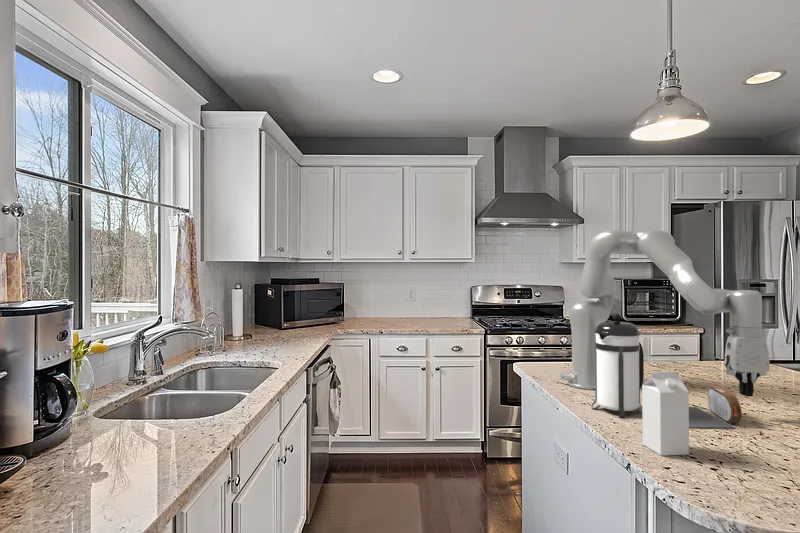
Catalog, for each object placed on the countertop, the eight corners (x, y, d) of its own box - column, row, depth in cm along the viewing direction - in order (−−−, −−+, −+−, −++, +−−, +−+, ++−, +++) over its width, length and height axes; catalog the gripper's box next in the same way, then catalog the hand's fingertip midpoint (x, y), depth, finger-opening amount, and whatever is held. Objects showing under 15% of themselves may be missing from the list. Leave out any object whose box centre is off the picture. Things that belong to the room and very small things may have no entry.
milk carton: (642, 444, 115) (641, 369, 115) (669, 443, 116) (668, 368, 116) (660, 456, 108) (660, 375, 108) (689, 455, 108) (688, 375, 108)
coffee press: (652, 421, 132) (652, 317, 132) (592, 415, 137) (591, 315, 137) (643, 404, 148) (642, 311, 148) (589, 399, 153) (589, 310, 153)
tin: (743, 427, 127) (742, 397, 127) (730, 426, 127) (730, 396, 127) (717, 410, 141) (716, 383, 141) (705, 410, 142) (705, 382, 142)
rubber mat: (688, 428, 126) (688, 426, 126) (655, 408, 144) (655, 406, 144) (735, 428, 125) (735, 427, 125) (696, 408, 143) (696, 407, 143)
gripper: (727, 334, 131) (728, 398, 130) (782, 334, 130) (782, 399, 130) (711, 330, 138) (711, 391, 138) (762, 330, 137) (763, 391, 137)
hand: (746, 395), depth 134 cm, fingers closed
